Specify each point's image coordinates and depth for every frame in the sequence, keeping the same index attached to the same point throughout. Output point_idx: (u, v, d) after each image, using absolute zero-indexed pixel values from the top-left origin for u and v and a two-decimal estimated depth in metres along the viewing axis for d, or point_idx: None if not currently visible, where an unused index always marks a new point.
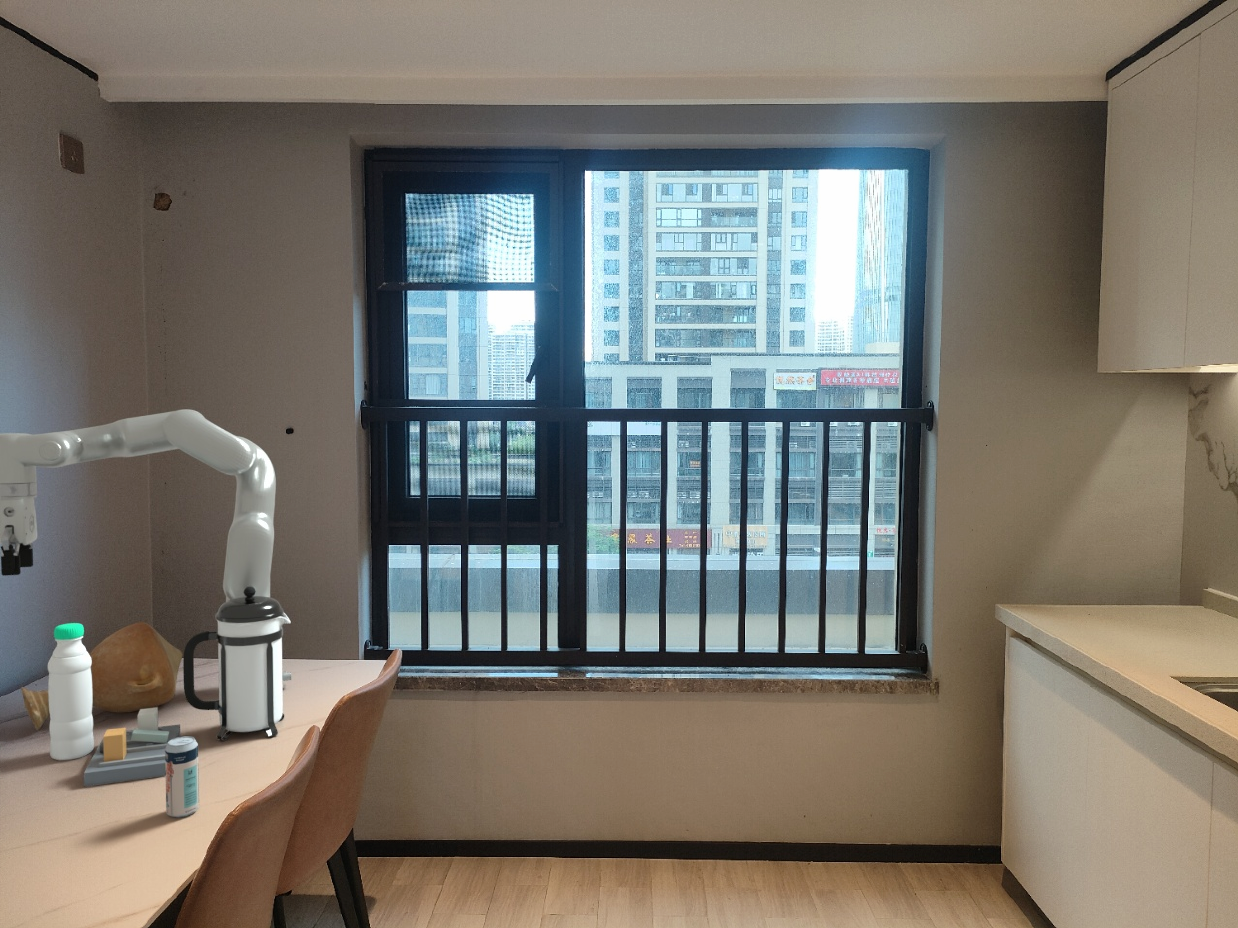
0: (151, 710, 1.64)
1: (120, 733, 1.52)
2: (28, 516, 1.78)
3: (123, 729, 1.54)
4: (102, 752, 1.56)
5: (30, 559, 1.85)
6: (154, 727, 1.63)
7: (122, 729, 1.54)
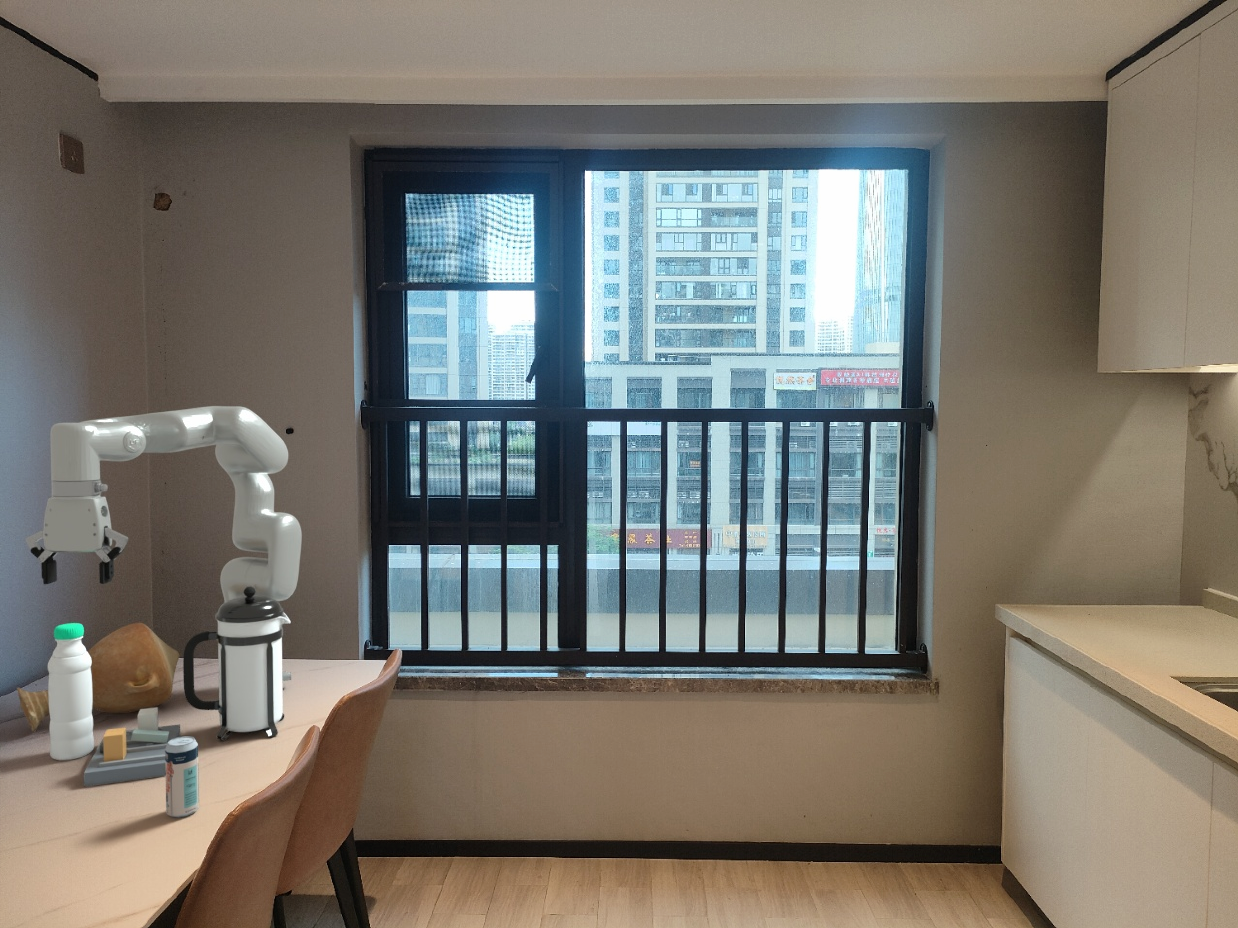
0: (151, 710, 1.64)
1: (120, 733, 1.52)
2: None
3: (123, 729, 1.54)
4: (102, 752, 1.56)
5: (55, 572, 1.56)
6: (154, 727, 1.63)
7: (122, 729, 1.54)
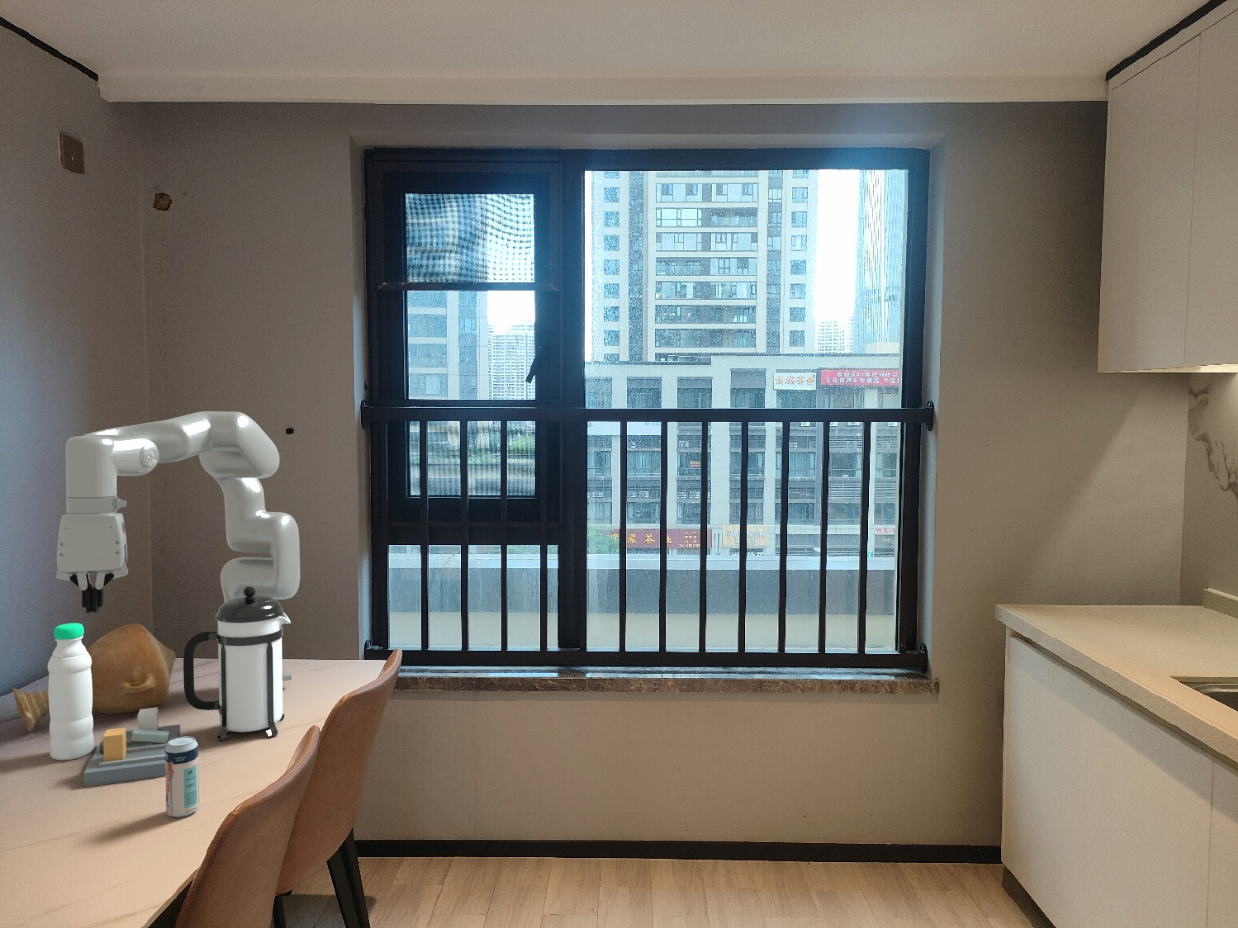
0: (151, 710, 1.64)
1: (120, 733, 1.52)
2: None
3: (123, 729, 1.54)
4: (102, 752, 1.56)
5: None
6: (154, 727, 1.63)
7: (122, 729, 1.54)
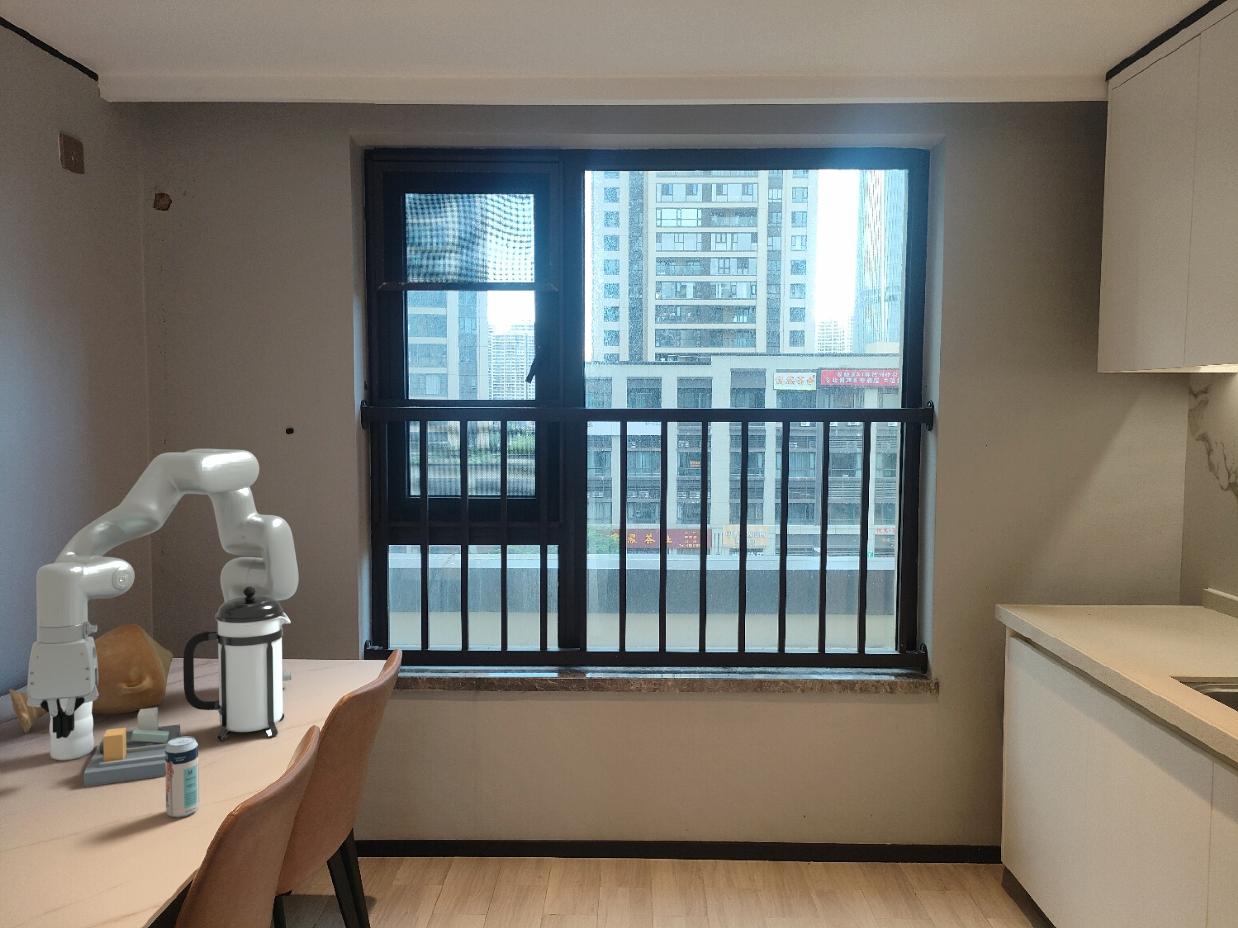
0: (151, 710, 1.64)
1: (120, 733, 1.52)
2: None
3: (123, 729, 1.54)
4: (102, 752, 1.56)
5: None
6: (154, 727, 1.63)
7: (122, 729, 1.54)
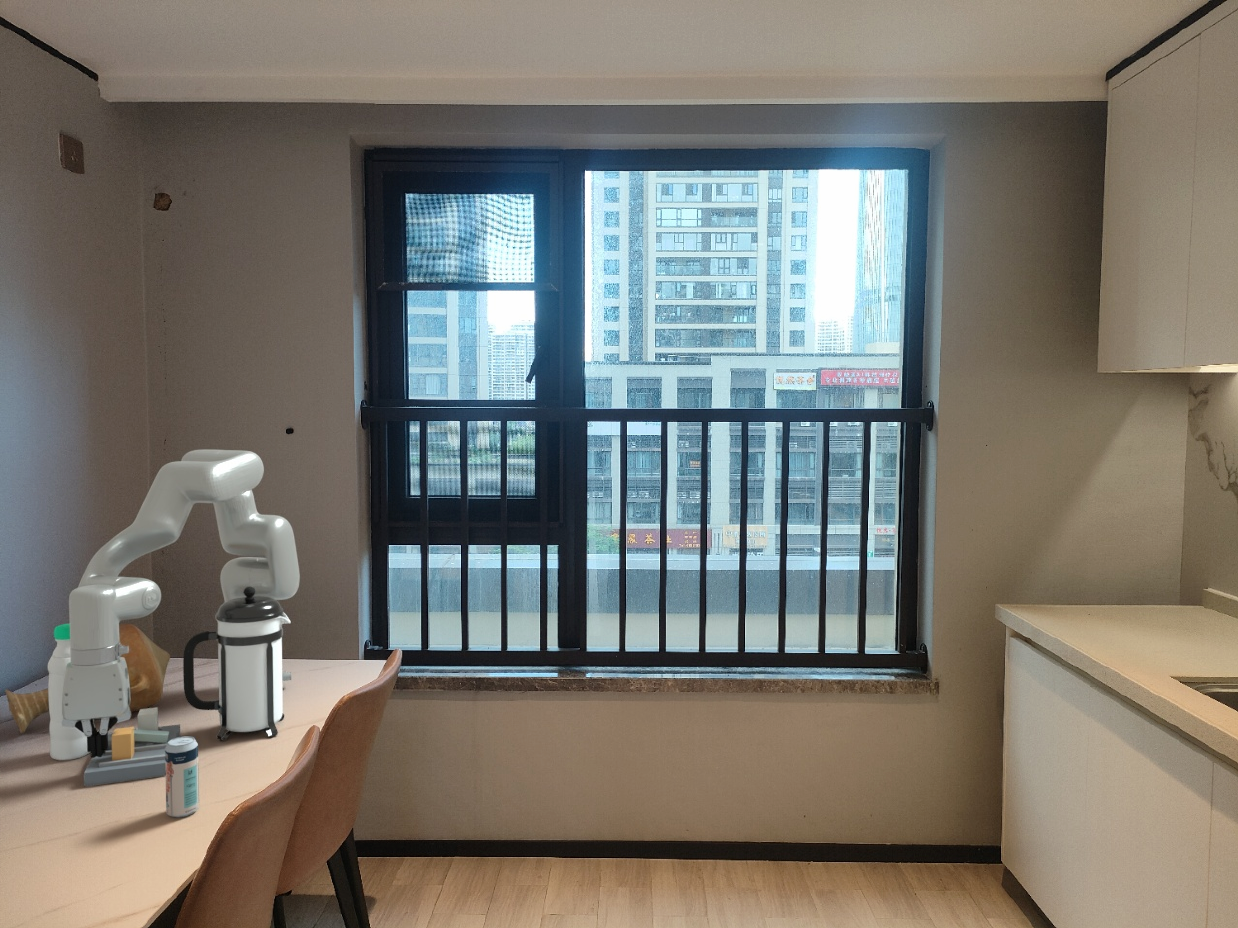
0: (151, 710, 1.64)
1: (128, 732, 1.53)
2: None
3: (131, 728, 1.55)
4: None
5: None
6: (154, 727, 1.63)
7: (130, 728, 1.55)
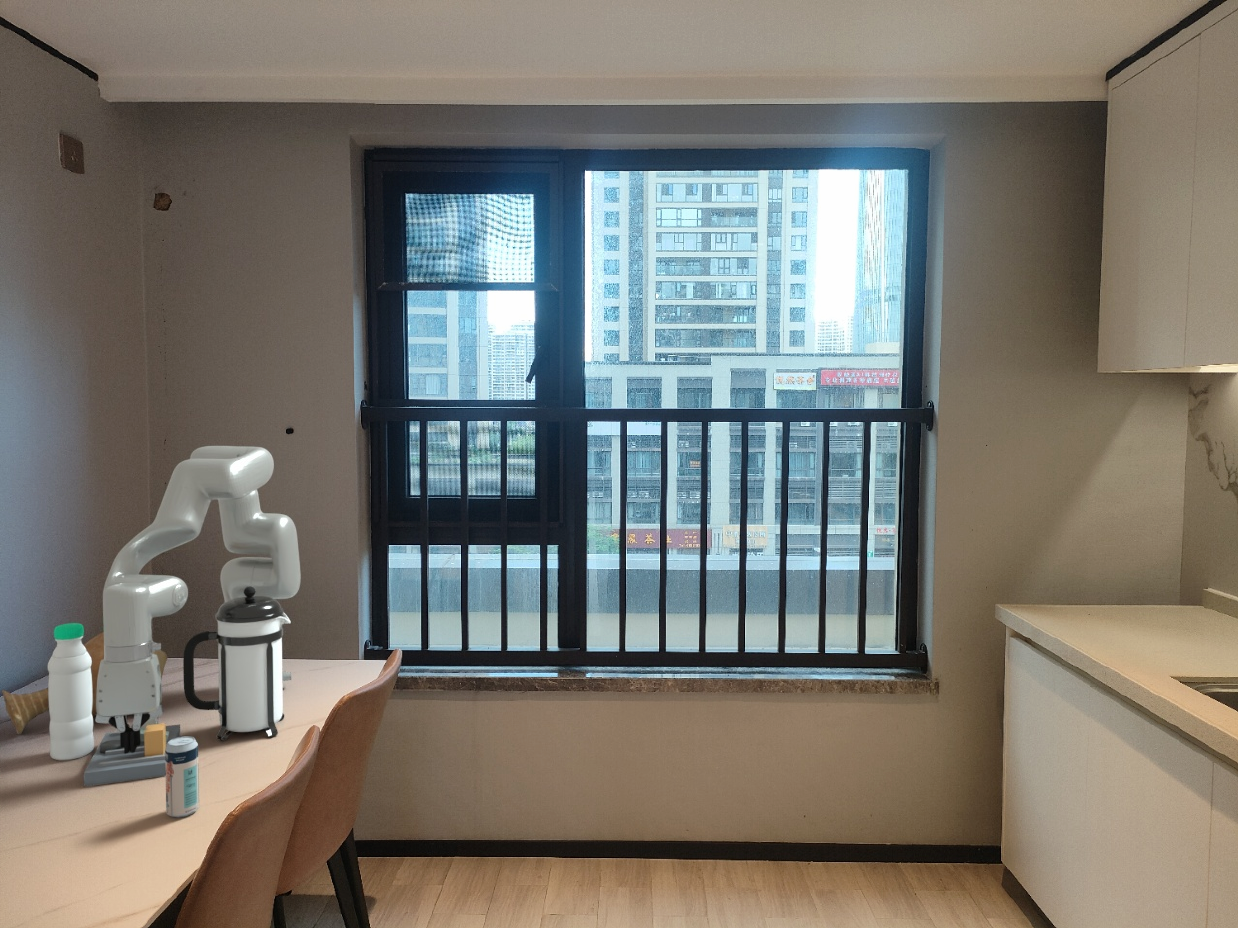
0: None
1: (160, 728, 1.55)
2: None
3: (163, 725, 1.57)
4: (102, 752, 1.56)
5: None
6: None
7: (162, 725, 1.57)
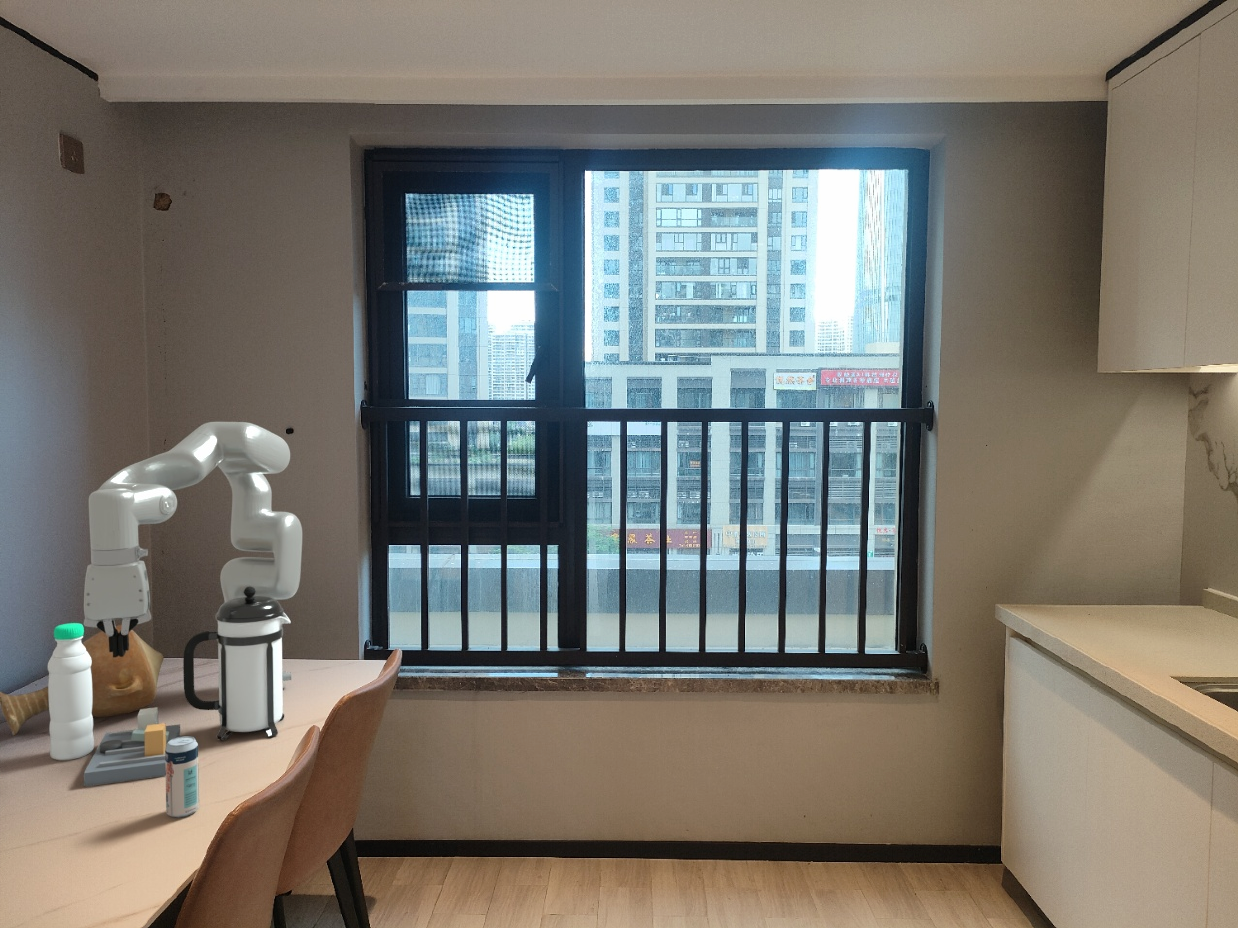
0: (151, 710, 1.64)
1: (161, 728, 1.55)
2: None
3: (163, 725, 1.57)
4: (102, 752, 1.56)
5: None
6: None
7: (162, 725, 1.57)
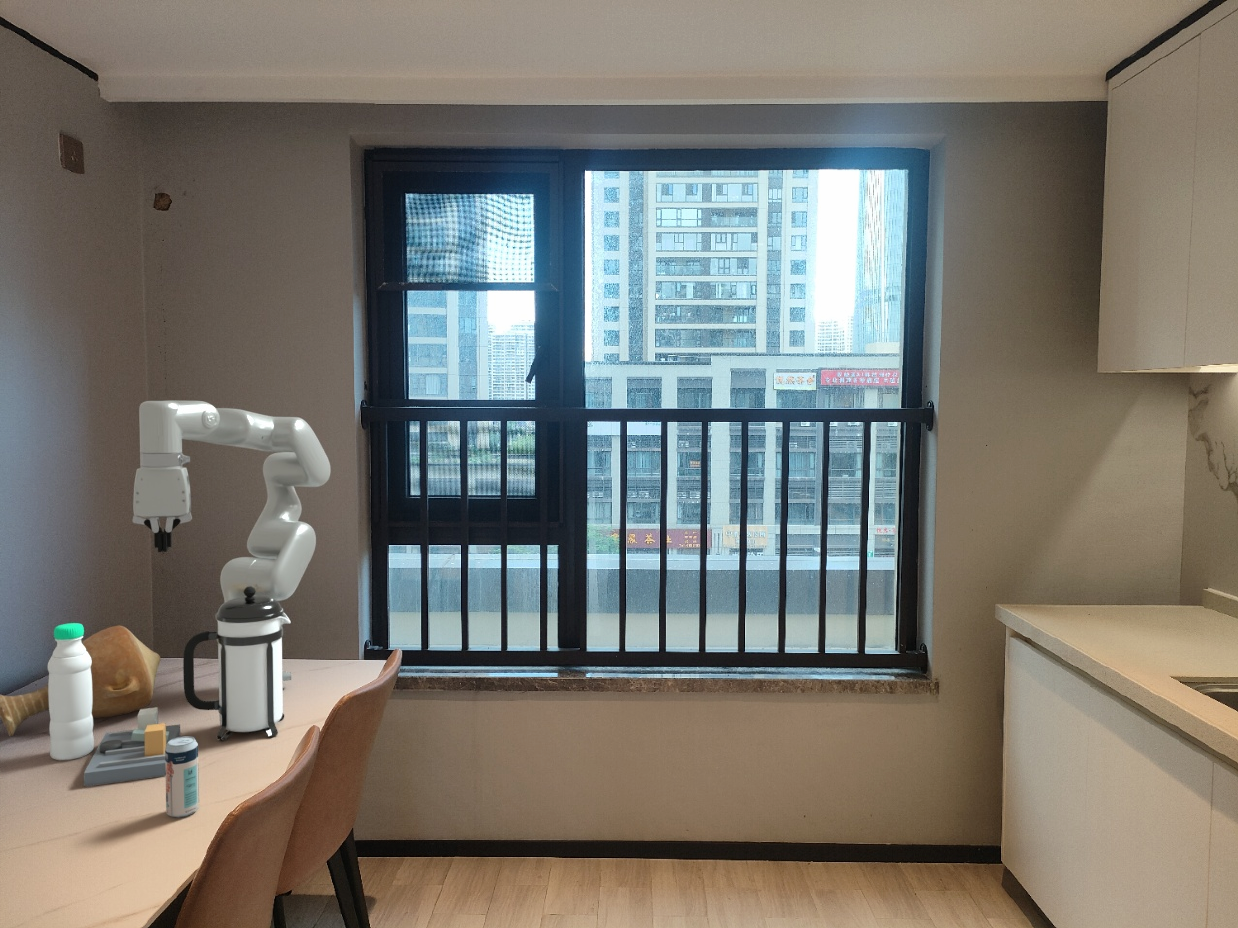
0: (151, 710, 1.64)
1: (161, 728, 1.55)
2: None
3: (163, 725, 1.57)
4: (102, 752, 1.56)
5: None
6: None
7: (162, 725, 1.57)
